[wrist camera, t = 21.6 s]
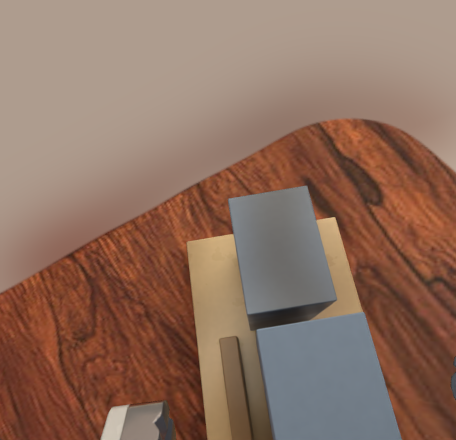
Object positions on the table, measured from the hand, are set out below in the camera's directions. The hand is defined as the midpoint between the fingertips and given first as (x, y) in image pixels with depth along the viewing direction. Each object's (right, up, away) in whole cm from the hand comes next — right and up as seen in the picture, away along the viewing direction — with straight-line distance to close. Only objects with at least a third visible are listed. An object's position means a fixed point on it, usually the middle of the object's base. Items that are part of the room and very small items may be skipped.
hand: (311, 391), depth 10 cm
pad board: (+1, -3, +12) cm, 12 cm away
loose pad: (+1, -4, +10) cm, 11 cm away
